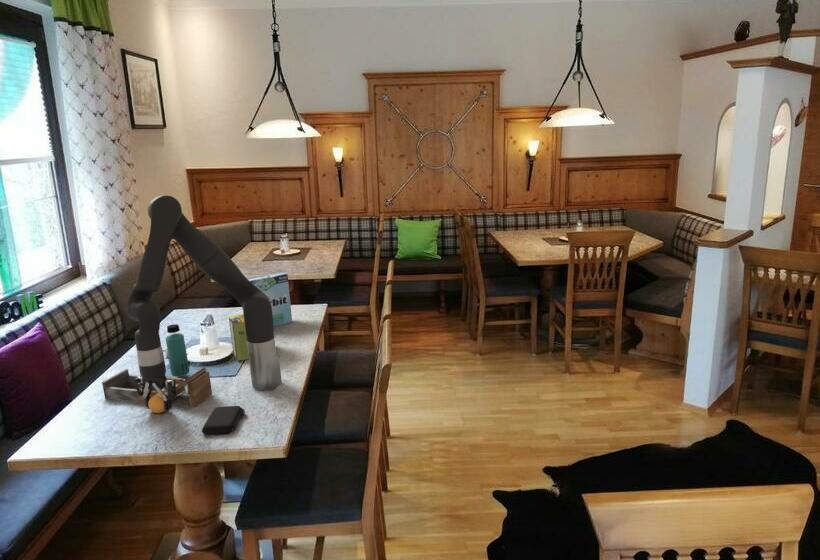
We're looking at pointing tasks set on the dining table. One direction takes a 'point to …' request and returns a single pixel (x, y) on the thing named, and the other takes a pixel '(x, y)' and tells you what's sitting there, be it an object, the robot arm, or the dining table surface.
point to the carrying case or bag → (223, 420)
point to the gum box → (276, 296)
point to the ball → (156, 404)
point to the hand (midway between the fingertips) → (159, 408)
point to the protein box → (239, 337)
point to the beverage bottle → (177, 351)
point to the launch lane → (197, 384)
